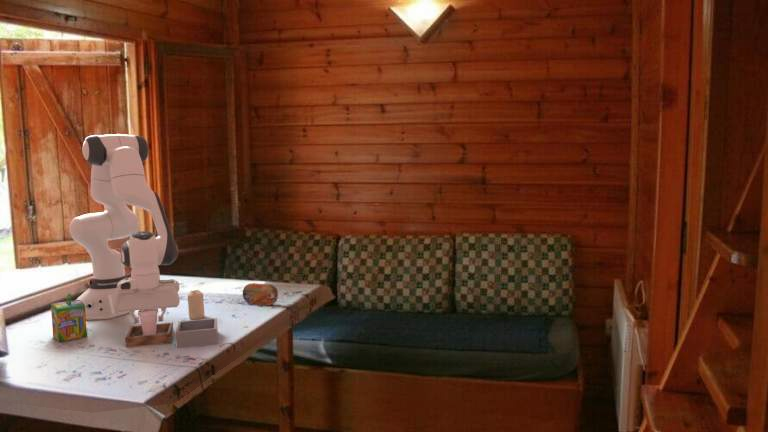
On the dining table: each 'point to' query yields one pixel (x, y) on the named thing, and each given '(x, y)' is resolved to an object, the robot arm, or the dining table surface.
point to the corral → (149, 339)
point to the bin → (196, 332)
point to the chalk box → (68, 320)
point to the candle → (196, 304)
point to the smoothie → (148, 321)
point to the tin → (260, 294)
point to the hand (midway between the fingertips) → (148, 321)
